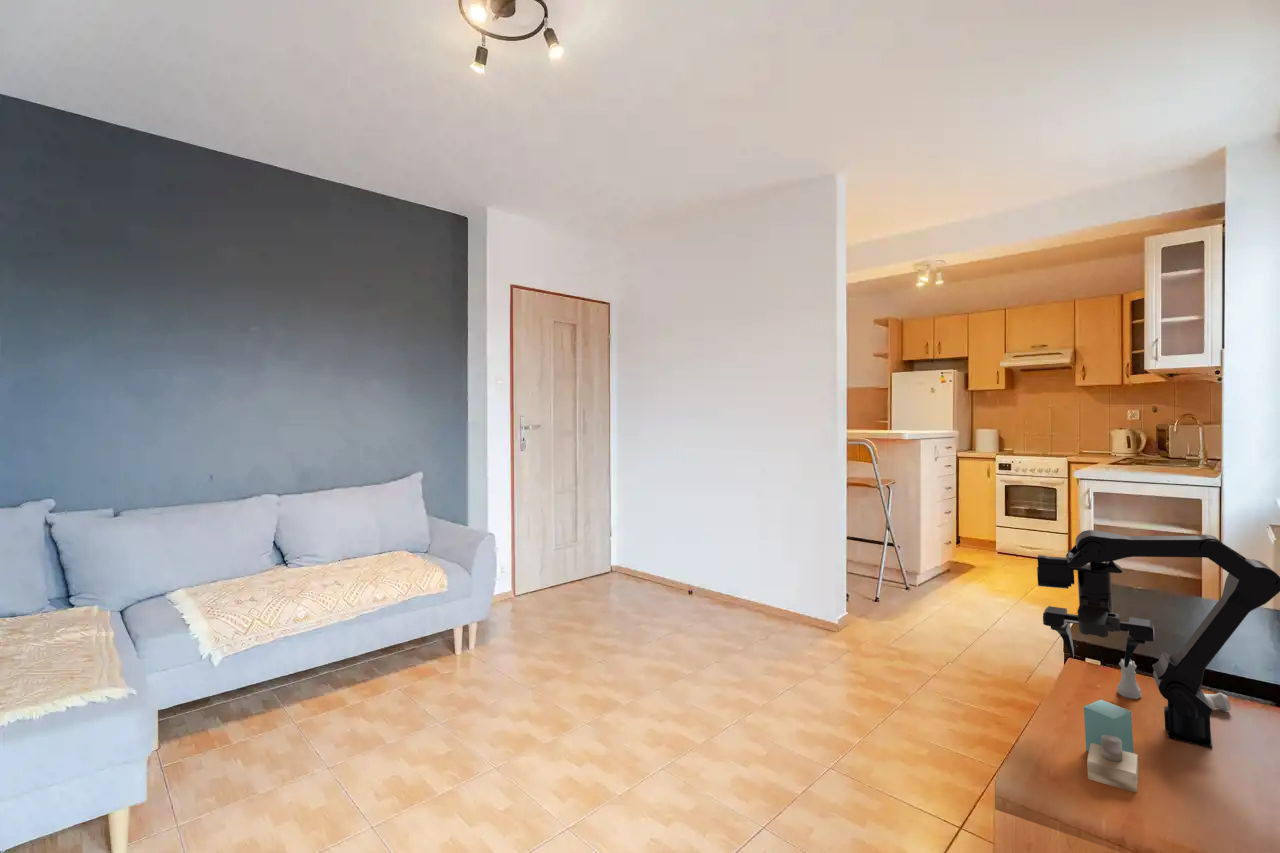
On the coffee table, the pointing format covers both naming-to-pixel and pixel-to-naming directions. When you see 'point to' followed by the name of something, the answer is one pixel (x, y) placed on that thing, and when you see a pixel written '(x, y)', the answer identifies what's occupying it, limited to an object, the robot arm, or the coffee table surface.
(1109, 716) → the teal square top
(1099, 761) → the post pedestal
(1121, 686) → the rook chess piece
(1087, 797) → the coffee table surface
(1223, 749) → the coffee table surface
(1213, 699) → the smooth white sculpture
